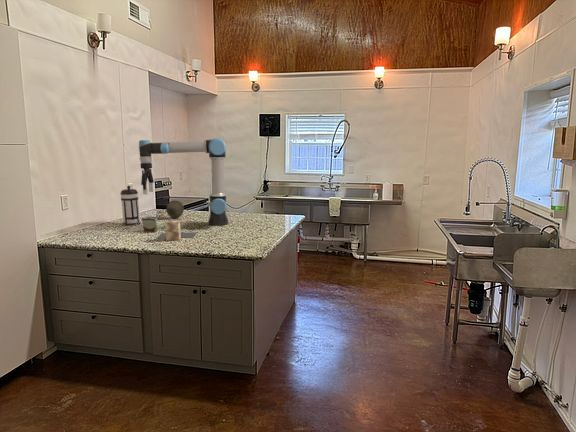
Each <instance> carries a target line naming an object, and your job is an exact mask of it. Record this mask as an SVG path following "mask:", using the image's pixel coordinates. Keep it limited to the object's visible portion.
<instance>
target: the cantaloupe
mask: <svg viewBox="0 0 576 432" xmlns="http://www.w3.org/2000/svg"><path fill="white" fill-rule="evenodd" d="M184 209H185V208H184V204H183V203H182V202H181V201H179V200H171V201H169V202H168V203H167V205H166V210H165V211H166V213H167V215H168V216H169V217H170V218H172V219H178V218H180V217H182V215H183V214H184V211H185V210H184Z"/></svg>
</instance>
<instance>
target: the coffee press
mask: <svg viewBox="0 0 576 432" xmlns="http://www.w3.org/2000/svg"><path fill="white" fill-rule="evenodd" d="M126 188H127V189H126ZM126 188H125V189H121V191H120V193H119V194H120V201H121V210H122V211H121V212H122V222H123V225H124V227H127V226H128V225H130V224H131V225H133V224H137V226H138V225H141V222H140V220H141V219H140V209H139V195H138V194H139V192H138V190H137V189H135V188H131V186H130V185H127V187H126Z"/></svg>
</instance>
